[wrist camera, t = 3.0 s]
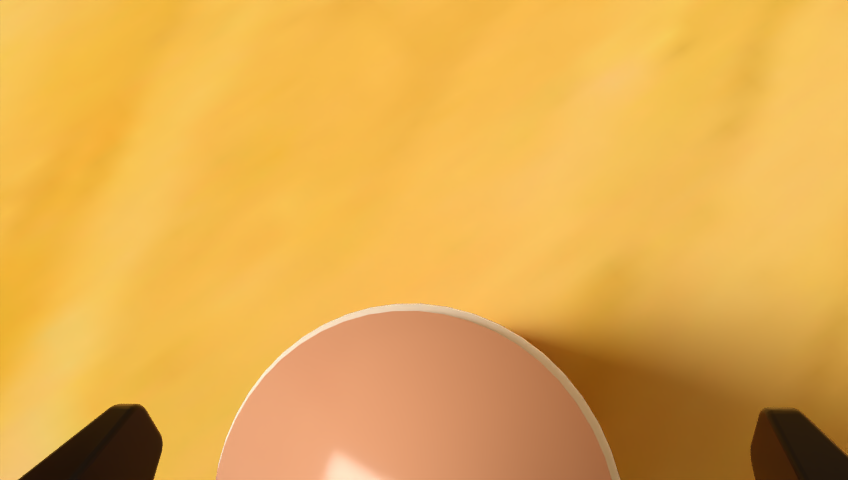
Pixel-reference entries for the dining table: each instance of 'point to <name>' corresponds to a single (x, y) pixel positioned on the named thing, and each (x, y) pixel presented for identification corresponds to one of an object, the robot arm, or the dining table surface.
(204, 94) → the dining table surface
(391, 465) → the terracotta tube
